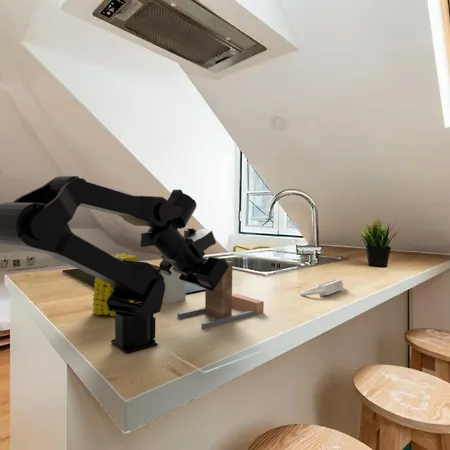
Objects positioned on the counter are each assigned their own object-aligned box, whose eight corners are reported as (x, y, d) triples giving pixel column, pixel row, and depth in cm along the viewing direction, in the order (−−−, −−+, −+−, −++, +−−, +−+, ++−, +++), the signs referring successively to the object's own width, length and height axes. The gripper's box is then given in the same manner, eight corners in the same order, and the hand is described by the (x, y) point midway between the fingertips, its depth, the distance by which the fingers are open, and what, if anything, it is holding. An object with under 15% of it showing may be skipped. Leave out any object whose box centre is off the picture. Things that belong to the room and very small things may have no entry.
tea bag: (185, 300, 99) (185, 264, 98) (167, 305, 94) (167, 267, 93) (176, 298, 101) (176, 262, 101) (157, 302, 96) (157, 265, 95)
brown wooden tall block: (221, 320, 81) (222, 263, 81) (205, 314, 86) (205, 259, 85) (231, 317, 83) (232, 261, 83) (214, 311, 88) (215, 258, 87)
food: (86, 319, 86) (126, 313, 93) (106, 319, 78) (148, 313, 84) (84, 255, 89) (122, 254, 95) (103, 249, 80) (144, 248, 87)
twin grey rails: (204, 329, 76) (204, 315, 75) (177, 318, 83) (177, 305, 83) (263, 313, 88) (263, 301, 88) (235, 304, 95) (235, 293, 95)
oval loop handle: (326, 290, 122) (323, 279, 122) (349, 288, 116) (346, 276, 117) (296, 301, 107) (293, 288, 107) (321, 299, 101) (318, 286, 102)
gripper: (223, 218, 72) (259, 267, 80) (170, 215, 86) (206, 257, 94) (190, 262, 67) (233, 309, 75) (140, 251, 81) (181, 292, 89)
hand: (212, 289), depth 83 cm, fingers closed, pressing on brown wooden tall block
